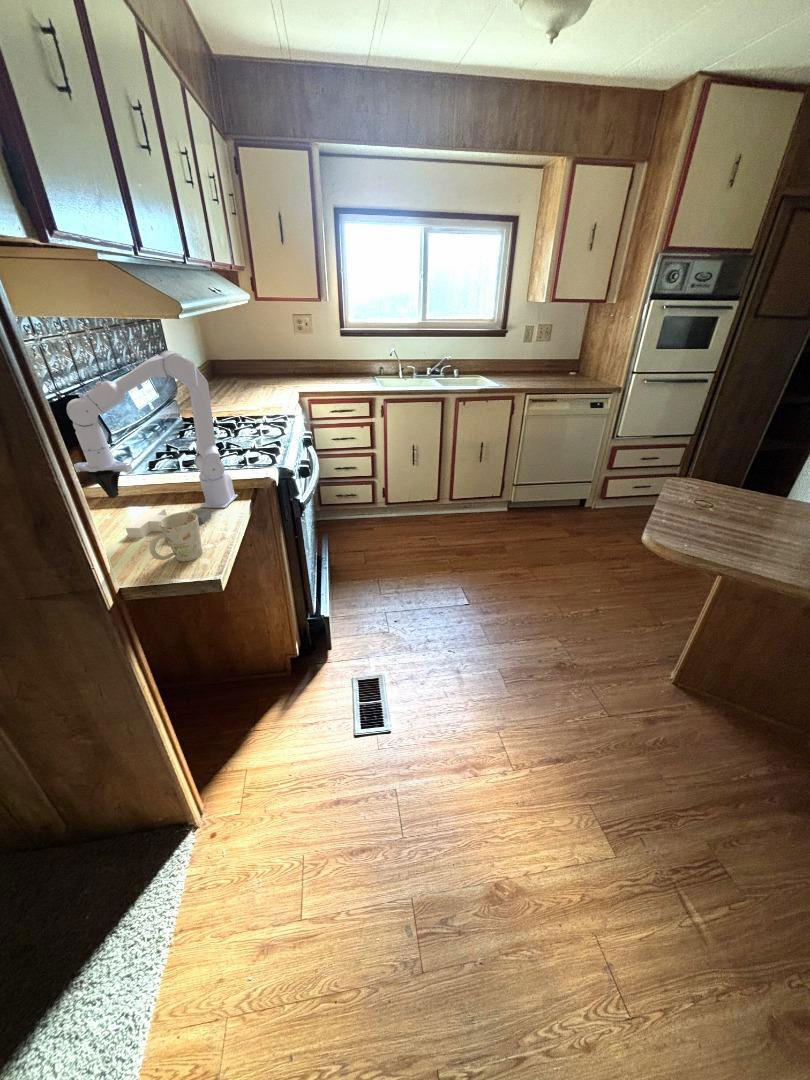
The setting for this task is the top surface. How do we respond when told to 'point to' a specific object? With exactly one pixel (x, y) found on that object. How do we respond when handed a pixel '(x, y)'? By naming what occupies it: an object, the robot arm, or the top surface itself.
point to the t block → (146, 523)
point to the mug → (179, 537)
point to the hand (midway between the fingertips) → (114, 496)
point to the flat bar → (200, 516)
